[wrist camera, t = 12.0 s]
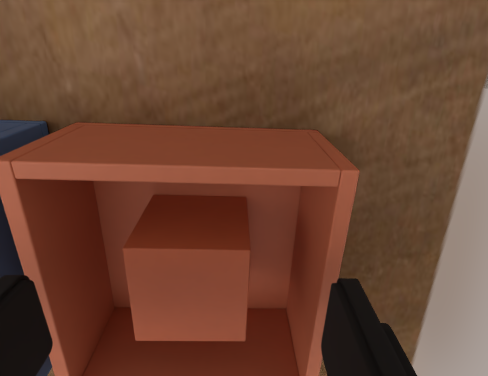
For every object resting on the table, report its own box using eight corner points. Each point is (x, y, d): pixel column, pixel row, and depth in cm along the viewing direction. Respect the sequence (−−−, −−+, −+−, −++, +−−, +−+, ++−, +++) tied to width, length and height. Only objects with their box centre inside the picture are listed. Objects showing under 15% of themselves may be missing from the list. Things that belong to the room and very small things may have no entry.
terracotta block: (246, 196, 15) (250, 250, 11) (243, 271, 17) (245, 341, 13) (152, 193, 15) (121, 248, 11) (159, 270, 17) (134, 341, 13)
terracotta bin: (317, 129, 15) (361, 170, 10) (293, 309, 19) (314, 401, 14) (75, 122, 14) (-12, 160, 9) (108, 308, 19) (62, 402, 14)
